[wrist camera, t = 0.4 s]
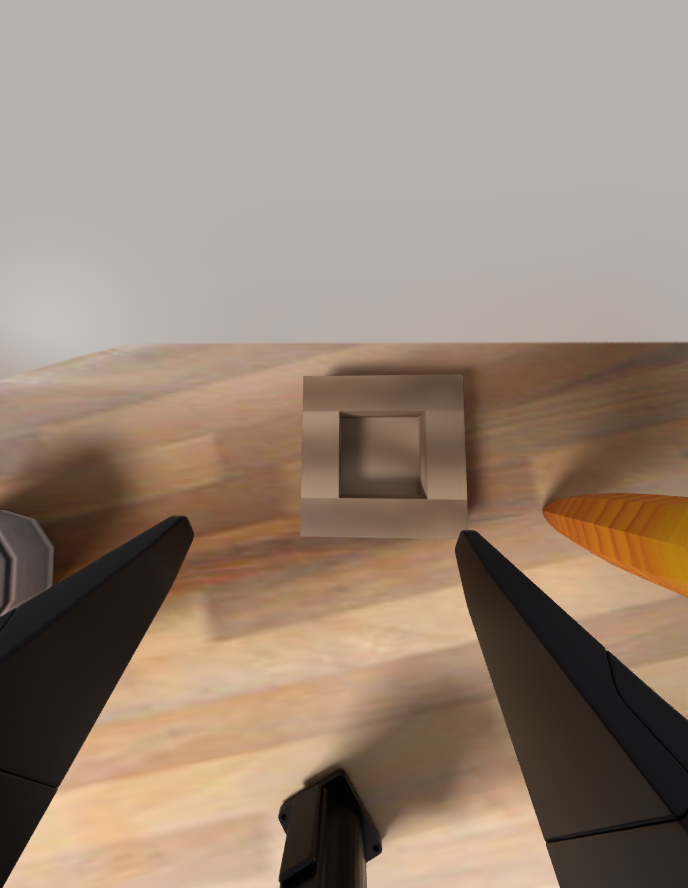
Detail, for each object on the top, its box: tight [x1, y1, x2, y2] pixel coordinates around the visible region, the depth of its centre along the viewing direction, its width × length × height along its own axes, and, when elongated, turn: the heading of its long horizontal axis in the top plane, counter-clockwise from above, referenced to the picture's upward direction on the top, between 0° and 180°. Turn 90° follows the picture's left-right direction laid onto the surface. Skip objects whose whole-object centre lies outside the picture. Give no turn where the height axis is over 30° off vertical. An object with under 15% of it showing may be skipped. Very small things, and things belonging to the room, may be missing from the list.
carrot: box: [542, 493, 688, 597], centre depth 15 cm, size 5×5×15 cm
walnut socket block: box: [300, 374, 468, 539], centre depth 22 cm, size 13×13×4 cm
